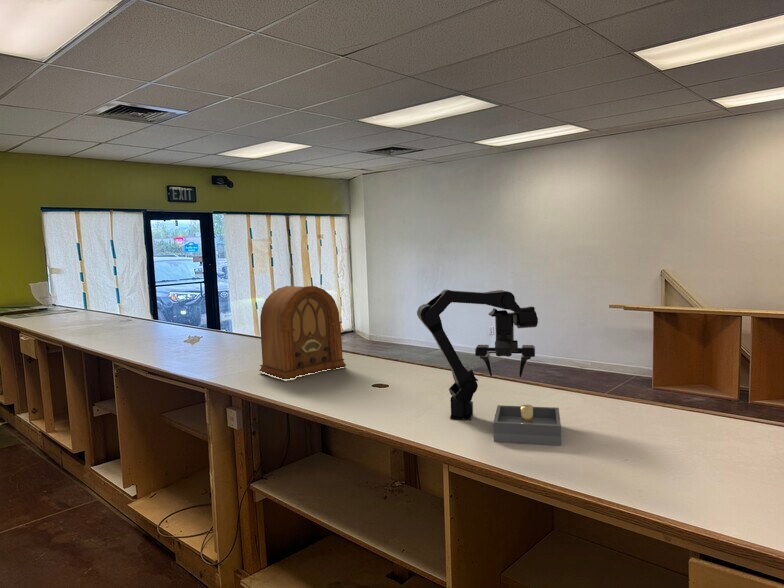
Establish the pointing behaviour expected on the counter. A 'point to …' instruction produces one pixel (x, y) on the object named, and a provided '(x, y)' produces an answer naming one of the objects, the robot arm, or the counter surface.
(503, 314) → the robot arm
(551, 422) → the tray
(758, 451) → the counter surface
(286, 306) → the radio
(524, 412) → the brass peg
